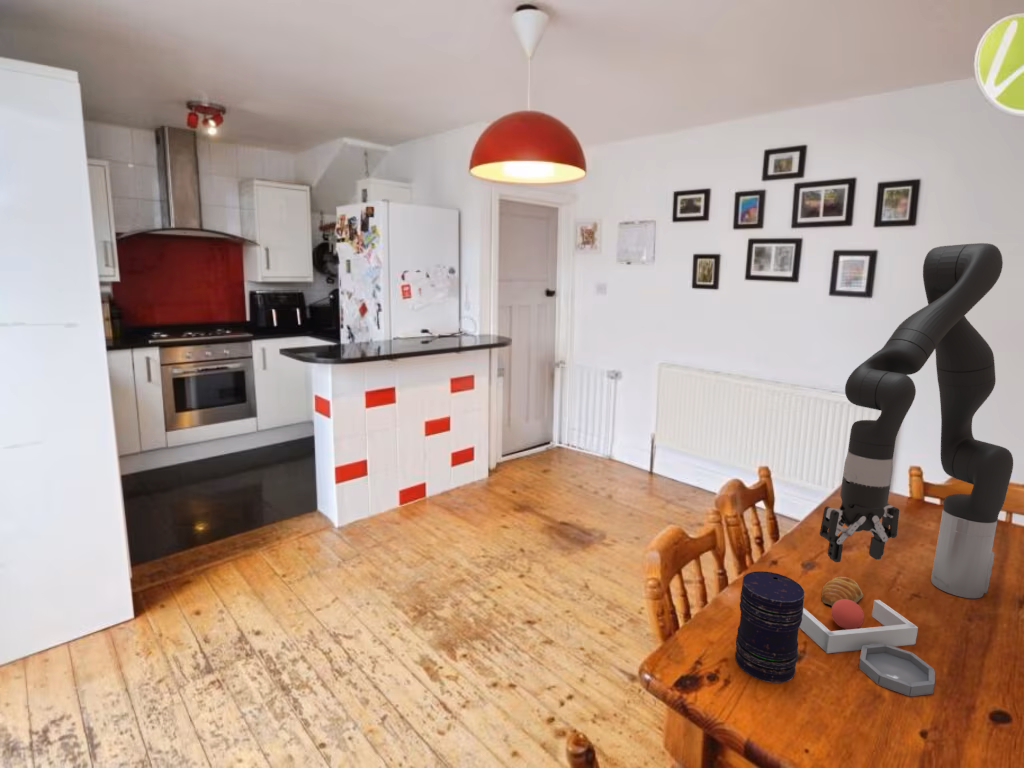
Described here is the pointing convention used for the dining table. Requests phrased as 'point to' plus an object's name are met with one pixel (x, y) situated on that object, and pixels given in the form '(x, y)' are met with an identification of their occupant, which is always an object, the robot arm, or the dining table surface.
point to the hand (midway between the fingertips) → (854, 558)
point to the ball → (847, 614)
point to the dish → (897, 669)
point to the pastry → (841, 590)
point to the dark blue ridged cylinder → (769, 626)
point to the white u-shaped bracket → (862, 631)
